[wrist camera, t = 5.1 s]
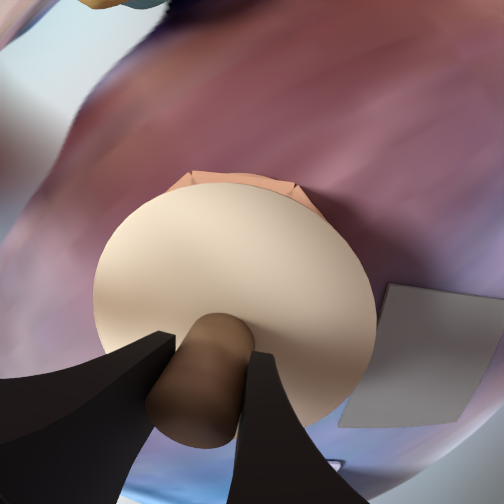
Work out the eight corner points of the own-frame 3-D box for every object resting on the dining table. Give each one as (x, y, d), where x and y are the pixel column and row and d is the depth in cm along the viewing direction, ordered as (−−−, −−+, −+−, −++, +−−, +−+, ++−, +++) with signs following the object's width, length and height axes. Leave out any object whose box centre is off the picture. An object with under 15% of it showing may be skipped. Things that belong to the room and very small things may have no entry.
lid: (340, 435, 11) (348, 513, 7) (123, 405, 13) (82, 465, 8) (393, 195, 9) (470, 211, 4) (91, 183, 10) (0, 194, 5)
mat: (454, 419, 18) (456, 421, 18) (337, 424, 19) (338, 427, 19) (511, 299, 15) (514, 301, 15) (388, 282, 16) (390, 285, 16)
